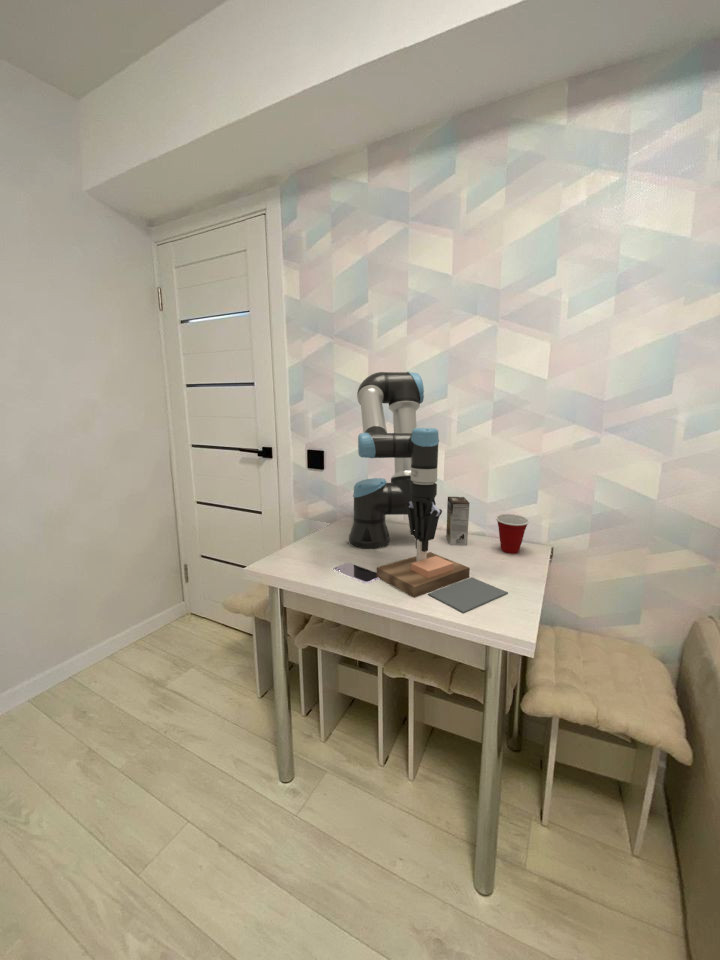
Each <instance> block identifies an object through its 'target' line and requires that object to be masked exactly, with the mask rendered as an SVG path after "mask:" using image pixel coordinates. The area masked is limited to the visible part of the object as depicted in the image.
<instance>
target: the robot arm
mask: <svg viewBox="0 0 720 960" xmlns="http://www.w3.org/2000/svg"><path fill="white" fill-rule="evenodd" d="M424 389H425V387H424V383H423V379H422V377H421V375H420V374H419V373H418V372H410V371H406V372H403V371H402V372H401V371H399V372H398V371H397V372H396V371H395V372H394V371H392V372H391V371H390V372H388V371H387V372H386V371H385V372H384V371H379V372H378V371H377V372H375V373H374V372H373V374H371V375H369V376H367V377H365V379H364V380H363V381H362V382H361V383H360V385H359V386H358V389H357V394H356V397H357V398H356V399H357V402H358V404H359V406H360V409H361V421H362V423H361V424H362V433H359V434H358V437H357V438H358V439H357V453H358V456H359V457H360V458H365V459H367V458H368V459H382V458H383V459H384V458H385V459H389V458H390V459H393V458H394V474H393V475H392V476H391V477H390V482H387V480H386V479H385V478H381V477H378V478H377V477H376V478H374V477H373V478H368V479H367V478H366V479H363V480H359V481H358V482H356V483H355V484H354V486H353V495H352V497H353V523H352V526H351V529H350V533H349V535H348V543H349V545H350V546H352V547H355V548H358V549H365V550H366V549H368V550H369V549H370V550H374V549H382V548H385V547H387V546H388V545H390V543H391V539H390V538H391V537H390V536H391V535H390V532H389V530H388V526H387V523H386V516H387V515H388V516H389V515H390V516H394V515H396V516H397V515H398V516H399V515H403V516H406V515H407V517H408V524H409V525H408V526H409V531H410V532H409V533H410V535H411V536H413V537H414V539H415V550H416V555H415V556H416V561H421V560H424V559H427V553H428V552H429V541H432V540H434V539H435V538H436V537H435V536H436V531H437V527H438V524H439V519H440V516H441V515H442V512H443V510H442V509H441V508H439V509H438V507H437V506H436V500H435V498H436V497H437V495H438V492H437V491H438V484H437V483H436V482H438V463H439V461H438V459H439V443H440V439H439V438H440V437H439V430H438V429H437V428H436V427H434V428H433V427H417V410H418V409H419V408H420V404H423V402H424V398H425V394H424V392H425V390H424ZM383 404H386V405H387V404H388V409H389V410H390V411H391V412H392V414H393V415H392V421H393V424H392V425H393V432H388V430H387V425H386V424H387V423H386V419H385V412H384V407H383Z"/></svg>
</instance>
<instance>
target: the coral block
mask: <svg viewBox="0 0 720 960" xmlns="http://www.w3.org/2000/svg"><path fill="white" fill-rule="evenodd" d="M453 567H454V563H452V562H449V561H447V560H444V559H442V558H440V557H437V556H434V557H431V558H428V559H424V560H421V561H417V562H414V563H411V570H412V571H415V572H417V573H419V574H421V575H423V576H425V577H427V578H430V577H433V576H436V575H439V574H442V573H445V572H448V571H451V570H453Z"/></svg>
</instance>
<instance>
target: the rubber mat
mask: <svg viewBox="0 0 720 960" xmlns="http://www.w3.org/2000/svg"><path fill="white" fill-rule="evenodd" d="M508 594H509V592H508V591H506V590H503V589H501V588H498V587H496V586H495V585H491V584H490V583H487V582H484V581H482V580H479V579H477V578H475V577H469V578H466V579H463V580H461V581H458V582H455V583H453V584H450V585H447V586H444V587H442V588H439V589H436V590H434V591H431V592H428V593H427V596H428V597H431V598H433V599H435V600H437V601H439V602H441V603H443V604H444V605H446V606H448V607H450V608H452V609H455V610H456V611H458V612H460V613H462V614H465V613H467V612H470V611H473V610H475V609H477V608H479V607H481V606H483V605H486V604H489V603H490V602H493V601H495V600H496V599H499V598H503V597H504V596H506V595H508Z"/></svg>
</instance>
